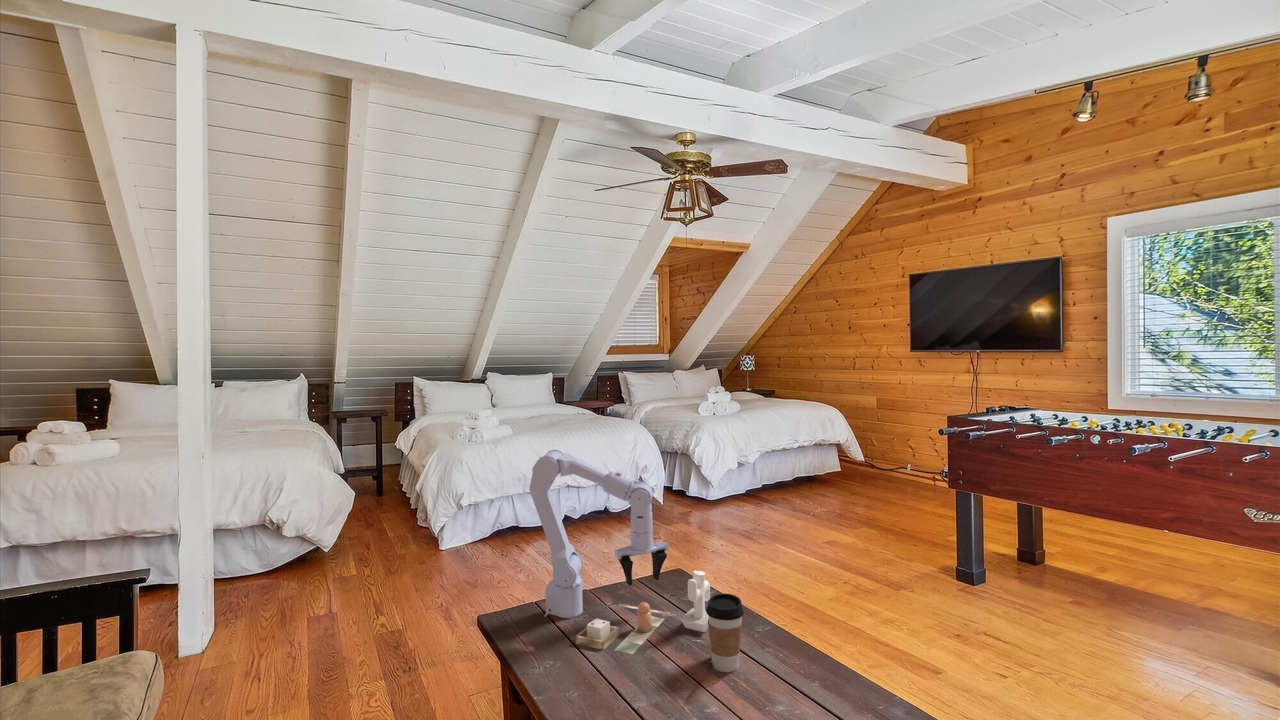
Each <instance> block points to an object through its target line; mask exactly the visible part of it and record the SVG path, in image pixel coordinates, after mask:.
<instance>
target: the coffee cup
mask: <svg viewBox="0 0 1280 720" xmlns="http://www.w3.org/2000/svg"><path fill="white" fill-rule="evenodd" d="M705 611H706V613H707V614H708V618H709V619H708V627H709V629H708V635H709V644H710V652H711V653H710V654H711V664H712V668H713V669H714V670H716V671H718V672H722V673H732V672H735V671H737V670H738V669H739V666H740V652H741V643H742V642H741V641H742V633H743V632H742V631H743V630H742V629H743V621H742V619H743V616H744V613H745V612H744V607H743V604H742V599H740V597H738V596H737V595H735V594H731V593H719V594H718V593H717V594H715V595H712V596H710V599H709V601H707V606H706V609H705Z"/></svg>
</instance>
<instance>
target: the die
mask: <svg viewBox="0 0 1280 720" xmlns="http://www.w3.org/2000/svg"><path fill="white" fill-rule="evenodd" d="M610 626H611V622H610V621H608V620H605V619H600V618H597V617H596V618H595V619H593V620H592V621H591V622H589V623H588V624H587V623H586V627H587V638H592V639H597V640H602V641H603V640H604V639H605V638H606V637H607V636H608V635H609V634H610Z"/></svg>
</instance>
